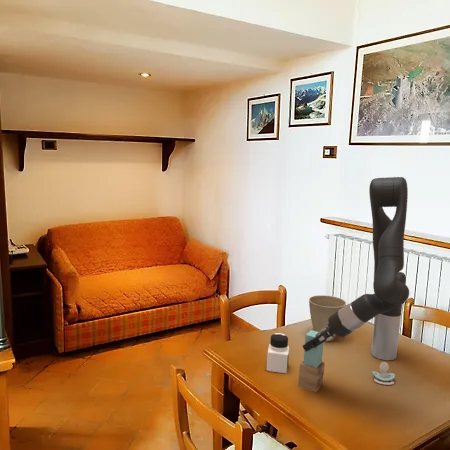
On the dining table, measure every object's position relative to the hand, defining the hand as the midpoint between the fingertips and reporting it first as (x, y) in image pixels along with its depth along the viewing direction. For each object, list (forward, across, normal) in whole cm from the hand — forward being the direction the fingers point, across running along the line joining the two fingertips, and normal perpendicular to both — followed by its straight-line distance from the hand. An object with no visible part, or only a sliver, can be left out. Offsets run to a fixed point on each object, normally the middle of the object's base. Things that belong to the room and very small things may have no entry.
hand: (308, 345), depth 138 cm
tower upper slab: (+5, 0, +8) cm, 10 cm away
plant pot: (+15, -39, +4) cm, 42 cm away
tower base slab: (+8, 0, +11) cm, 14 cm away
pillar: (+2, 0, +5) cm, 6 cm away
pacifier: (-5, -18, +24) cm, 31 cm away
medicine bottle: (+18, -4, +1) cm, 19 cm away
